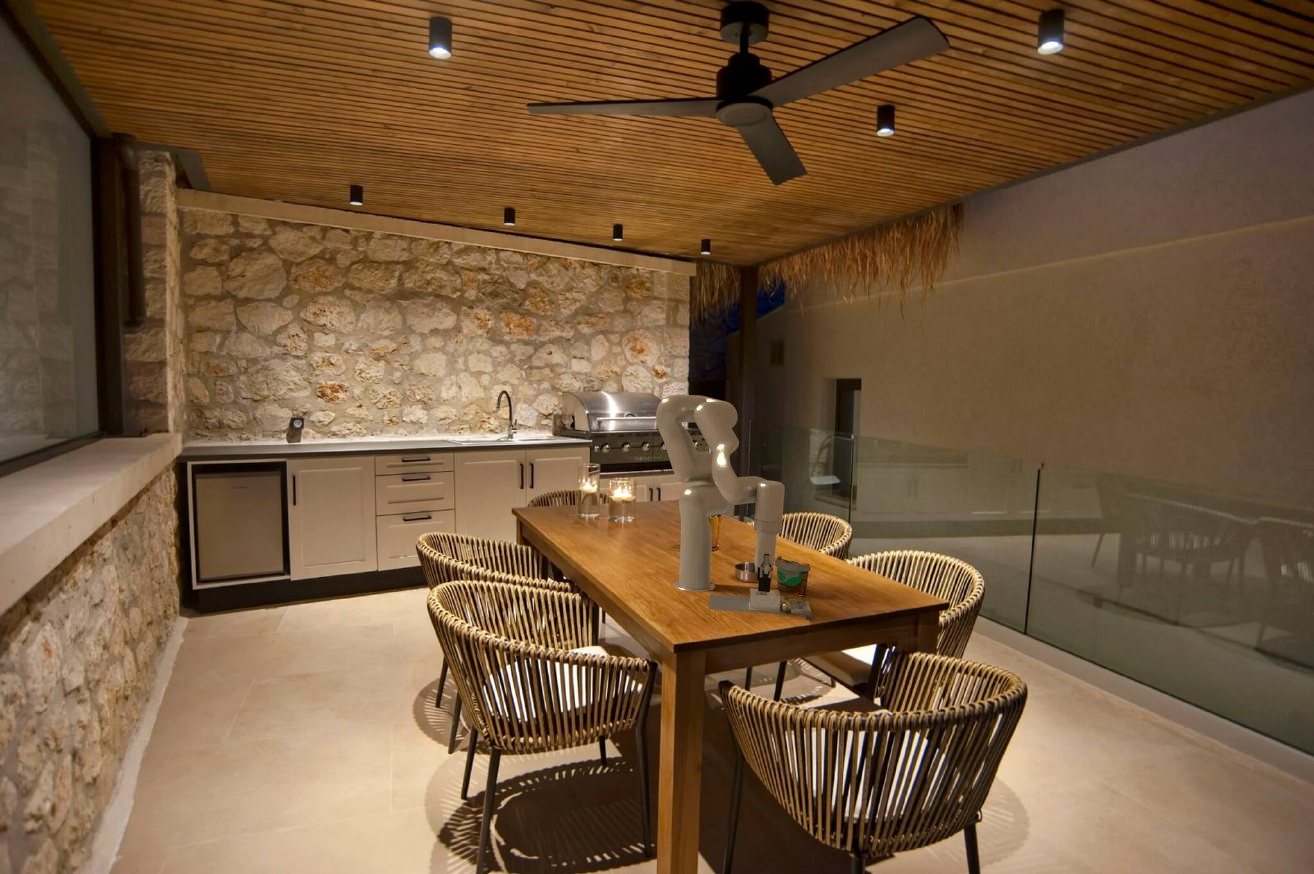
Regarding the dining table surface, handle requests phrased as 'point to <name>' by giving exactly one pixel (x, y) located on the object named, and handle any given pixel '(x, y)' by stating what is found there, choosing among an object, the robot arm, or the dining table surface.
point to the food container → (792, 576)
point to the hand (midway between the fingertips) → (763, 586)
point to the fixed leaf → (795, 606)
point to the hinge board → (742, 605)
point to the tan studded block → (764, 600)
